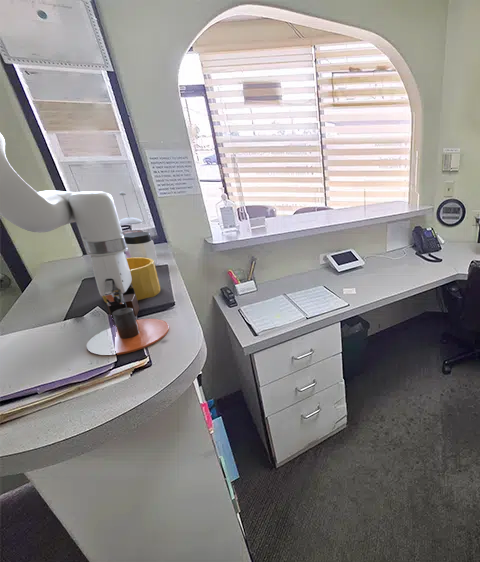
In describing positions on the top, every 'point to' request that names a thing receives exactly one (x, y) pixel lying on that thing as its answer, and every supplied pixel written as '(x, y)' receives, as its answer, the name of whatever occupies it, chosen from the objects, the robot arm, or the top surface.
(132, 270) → the tin
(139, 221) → the french press
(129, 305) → the block
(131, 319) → the lid
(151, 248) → the jar
